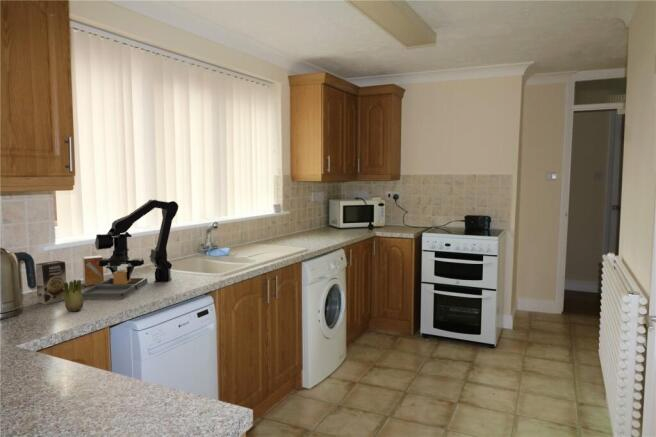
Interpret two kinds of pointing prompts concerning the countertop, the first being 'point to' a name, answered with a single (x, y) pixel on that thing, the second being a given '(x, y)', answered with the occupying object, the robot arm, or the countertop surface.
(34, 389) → the countertop surface
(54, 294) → the coffee box
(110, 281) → the case
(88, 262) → the small box
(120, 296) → the case lid
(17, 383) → the countertop surface
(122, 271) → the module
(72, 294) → the fennel bulb
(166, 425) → the countertop surface
